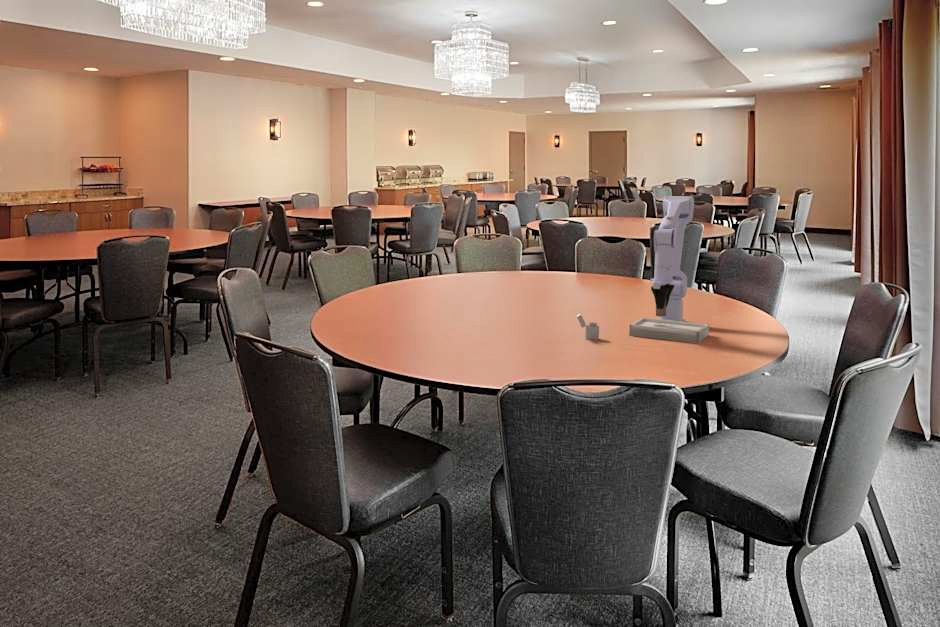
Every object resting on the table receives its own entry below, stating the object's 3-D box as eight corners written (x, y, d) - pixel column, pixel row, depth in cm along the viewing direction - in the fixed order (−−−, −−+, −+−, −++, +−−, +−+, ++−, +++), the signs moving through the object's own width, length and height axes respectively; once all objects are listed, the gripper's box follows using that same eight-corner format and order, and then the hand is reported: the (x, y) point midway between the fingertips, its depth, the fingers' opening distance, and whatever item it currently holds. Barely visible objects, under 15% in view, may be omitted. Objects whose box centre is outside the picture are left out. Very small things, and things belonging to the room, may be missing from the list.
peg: (657, 314, 237) (658, 290, 235) (667, 315, 235) (667, 290, 233) (654, 315, 234) (654, 291, 232) (664, 316, 232) (664, 292, 231)
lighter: (598, 338, 229) (599, 313, 228) (598, 339, 228) (599, 314, 226) (576, 337, 231) (576, 313, 229) (576, 339, 229) (576, 314, 227)
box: (641, 327, 244) (642, 317, 243) (708, 335, 233) (709, 324, 232) (629, 335, 233) (629, 324, 233) (698, 343, 222) (699, 332, 221)
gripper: (658, 262, 239) (656, 302, 242) (644, 268, 227) (642, 310, 230) (679, 264, 236) (677, 304, 238) (666, 269, 223) (664, 312, 226)
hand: (661, 307), depth 234 cm, fingers closed on peg, 3 cm apart
